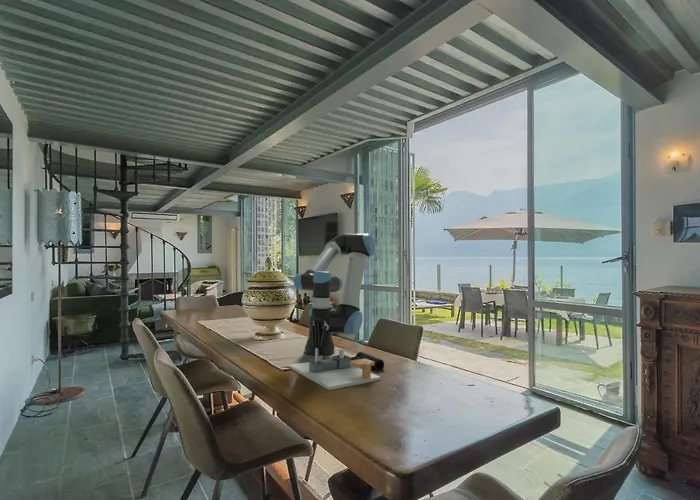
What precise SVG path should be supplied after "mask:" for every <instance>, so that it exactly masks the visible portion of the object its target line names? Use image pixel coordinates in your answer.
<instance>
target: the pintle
mask: <svg viewBox="0 0 700 500" xmlns="http://www.w3.org/2000/svg"><path fill="white" fill-rule="evenodd" d="M338 355H339V358H344V355H345V350H339V351H338Z"/></svg>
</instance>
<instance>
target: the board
mask: <svg viewBox="0 0 700 500" xmlns="http://www.w3.org/2000/svg"><path fill="white" fill-rule="evenodd" d="M329 359H330V358H328V359H326V360H329ZM309 362H310V361H309ZM309 362H300V363H294V364H289V365H288V368H289V367H290V368H291V369H290V368H289V369H290V370H293V371H294V372H296V373H297V374H300V375H302V376H303V377H304V378H307V379H309V380H310V381H312V382H314V383H316V384H317V385H319V386H321V387H322V388H325V389H326V390H328V391H331V390H332V391H333V390H336V389H337V390H338V389H342V388H347V387H352V386H357V385H362V384H367V383H372V382H377V381H381V376H379V375H378V374H374V373H373V372H371V379H364V378H362V368H357V367H354V366H352V365H351V367H348V368H342V369H338V368H337V369H331V370H325V371H319V372H313V371H311V370H309ZM312 362H315V360H313V361H312Z"/></svg>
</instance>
